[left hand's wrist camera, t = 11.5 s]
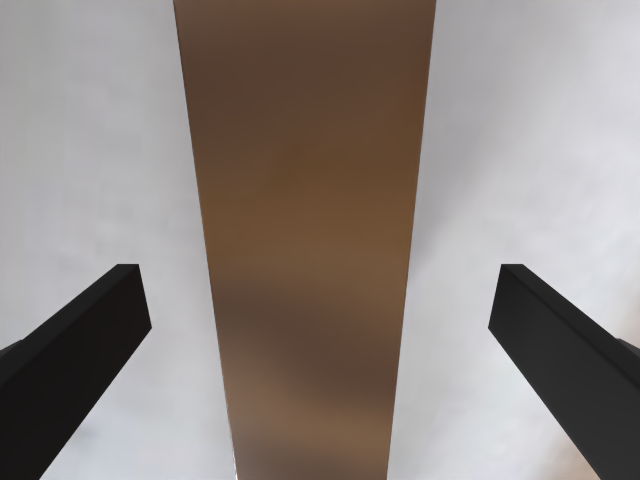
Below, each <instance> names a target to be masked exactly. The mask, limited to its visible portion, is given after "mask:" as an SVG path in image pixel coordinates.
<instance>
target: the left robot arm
mask: <svg viewBox="0 0 640 480" xmlns="http://www.w3.org/2000/svg"><path fill="white" fill-rule="evenodd" d="M151 329H152V326H151V321H150V316H149V312H148V307H147V302H146V297H145V292H144V288H143V283H142V278H141V273H140V268H139V264H117V265H116V266H114V267H113V268H112V269H111V270H109V271H108V272H107V273H106V274H104V275H103V276H102V277H101V278H99V279H98V280H97V281H96V282H94V283H93V284H92V285H91V286H89V287H88V288H87V289H86V290H84V291H83V292H82V293H81V294H79V295H78V296H77V297H76V298H74V299H73V300H72V301H71V302H69V303H68V304H67V305H66V306H64V307H63V308H62V309H61V310H59V311H58V312H57V313H56V314H54V315H53V316H52V317H50V318H49V319H48V320H47V321H45V322H44V323H43V324H42V325H40V326H39V327H38V328H37V329H35V330H34V331H33V332H32V333H30V334H29V335H28V336H27V337H25V338H24V339H23V340H19V341H17V342H15V343H14V344H12V345H10V346H8V347H6V348H4V349H2V350H0V480H39V479H40V478H41V476H42V475H43V474H44V472H45V471H46V470H47V468H48V467H49V466H50V464H51V463H52V462H53V460H54V459H55V458H56V456H57V455H58V454H59V452H60V451H61V449H62V448H63V447H64V445H65V444H66V443H67V441H68V440H69V439H70V437H71V436H72V435H73V433H74V432H75V431H76V429H77V428H78V427H79V425H80V424H81V423H82V421H83V420H84V419H85V417H86V416H87V415H88V413H89V412H90V411H91V409H92V408H93V407H94V405H95V404H96V403H97V401H98V400H99V398H100V397H101V396H102V394H103V393H104V392H105V390H106V389H107V388H108V386H109V385H110V384H111V382H112V381H113V380H114V378H115V377H116V376H117V374H118V373H119V372H120V370H121V369H122V368H123V366H124V365H125V364H126V362H127V361H128V360H129V358H130V357H131V356H132V354H133V353H134V351H135V350H136V349H137V347H138V346H139V345H140V343H141V342H142V341H143V339H144V338H145V337H146V335H147V334H148V333H149V331H150V330H151ZM488 329H489V330H490V331H491V333H492V334H493V335H494V337H495V338H496V339H497V341H498V342H499V343H500V345H501V346H502V347H503V349H504V350H505V351H506V353H507V354H508V356H509V357H510V358H511V360H512V361H513V362H514V364H515V365H516V366H517V368H518V369H519V370H520V372H521V373H522V374H523V376H524V377H525V378H526V380H527V381H528V382H529V384H530V385H531V386H532V388H533V389H534V390H535V392H536V393H537V394H538V396H539V397H540V398H541V400H542V401H543V403H544V404H545V405H546V407H547V408H548V409H549V411H550V412H551V413H552V415H553V416H554V417H555V419H556V420H557V421H558V423H559V424H560V425H561V427H562V428H563V429H564V431H565V432H566V433H567V435H568V436H569V437H570V439H571V440H572V441H573V443H574V444H575V445H576V447H577V448H578V449H579V451H580V452H581V454H582V455H583V456H584V458H585V459H586V460H587V462H588V463H589V464H590V466H591V467H592V468H593V470H594V471H595V472H596V474H597V475H598V476H599V478H600V479H601V480H640V349H639V348H637V347H635V346H633V345H631V344H629V343H627V342H625V341H624V340H622V339H616V338H615V337H613V336H612V335H611V334H610V333H608V332H607V331H606V330H605V329H603V328H602V327H601V326H600V325H598V324H597V323H596V322H595V321H593V320H592V319H591V318H590V317H588V316H587V315H586V314H584V313H583V312H582V311H581V310H579V309H578V308H577V307H576V306H574V305H573V304H572V303H571V302H569V301H568V300H567V299H566V298H564V297H563V296H562V295H561V294H559V293H558V292H557V291H556V290H554V289H553V288H552V287H551V286H549V285H548V284H547V283H546V282H544V281H543V280H542V279H541V278H539V277H538V276H537V275H536V274H534V273H533V272H532V271H531V270H529V269H528V268H527V267H526V266H524V265H523V264H501V268H500V273H499V278H498V283H497V288H496V292H495V297H494V302H493V307H492V312H491V316H490V321H489V326H488Z"/></svg>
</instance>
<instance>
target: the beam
mask: <svg viewBox="0 0 640 480" xmlns="http://www.w3.org/2000/svg"><path fill="white" fill-rule="evenodd" d="M173 4H174V12H175V19H176V27H177V35H178V42H179V50H180V57H181V65H182V72H183V80H184V88H185V95H186V103H187V110H188V118H189V125H190V133H191V140H192V148H193V156H194V163H195V171H196V178H197V186H198V193H199V201H200V208H201V216H202V224H203V231H204V239H205V246H206V254H207V261H208V269H209V277H210V284H211V292H212V299H213V307H214V314H215V322H216V329H217V337H218V345H219V352H220V360H221V367H222V375H223V382H224V390H225V398H226V405H227V413H228V420H229V428H230V435H231V443H232V450H233V458H234V466H235V473H236V480H387V471H388V461H389V451H390V442H391V432H392V423H393V413H394V403H395V394H396V384H397V374H398V365H399V355H400V346H401V336H402V326H403V317H404V307H405V297H406V288H407V278H408V269H409V259H410V249H411V240H412V230H413V220H414V211H415V201H416V192H417V182H418V172H419V163H420V153H421V144H422V134H423V124H424V115H425V105H426V95H427V86H428V76H429V67H430V57H431V47H432V38H433V28H434V18H435V9H436V0H173Z"/></svg>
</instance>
